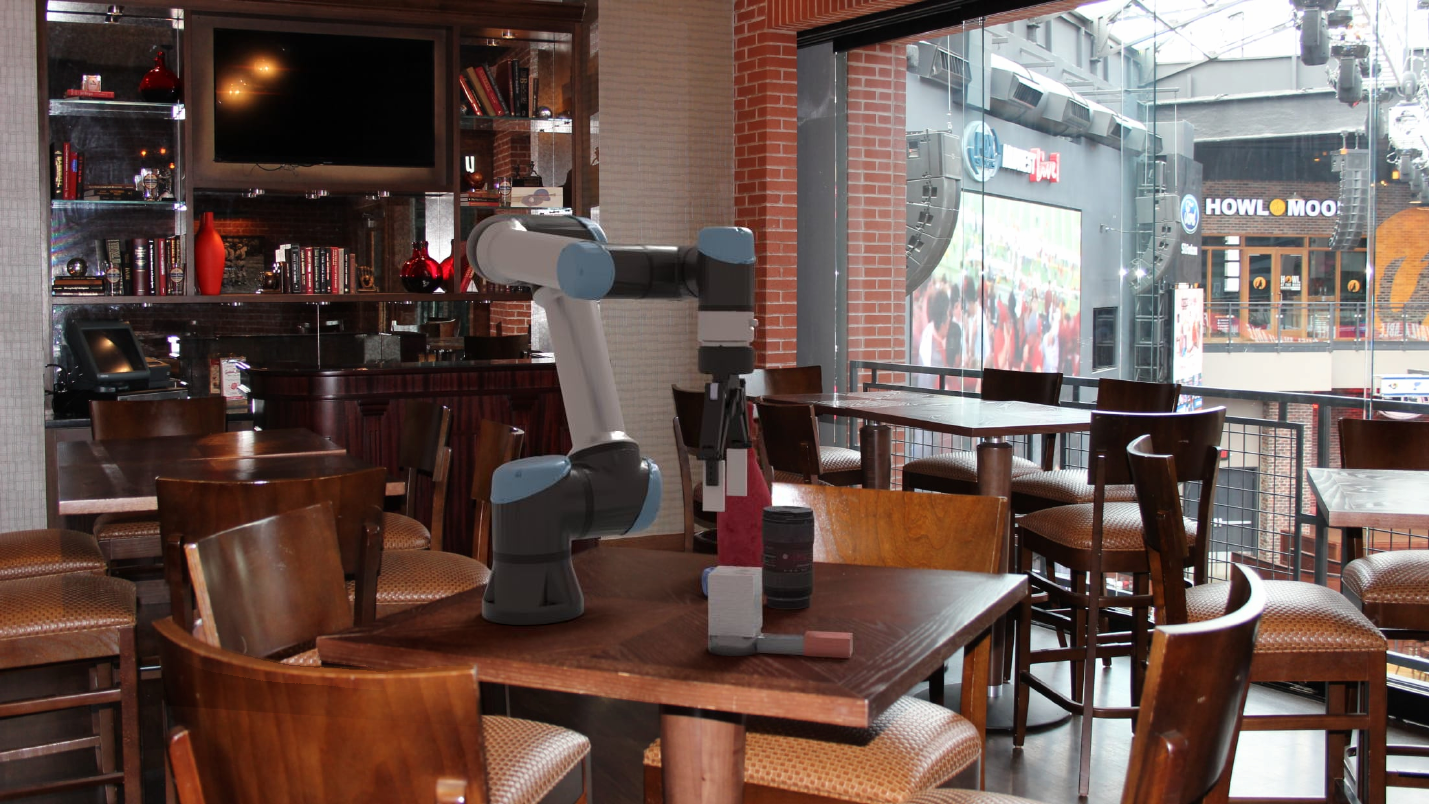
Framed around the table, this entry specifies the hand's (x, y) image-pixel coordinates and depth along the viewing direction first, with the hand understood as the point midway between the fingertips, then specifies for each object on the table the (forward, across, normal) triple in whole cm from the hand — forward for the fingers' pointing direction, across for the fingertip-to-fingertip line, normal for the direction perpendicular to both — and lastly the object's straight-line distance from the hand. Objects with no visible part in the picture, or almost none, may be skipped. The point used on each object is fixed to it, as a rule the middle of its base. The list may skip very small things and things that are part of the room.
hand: (725, 503), depth 165 cm
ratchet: (+19, -2, -8) cm, 21 cm away
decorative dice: (+20, +30, +8) cm, 37 cm away
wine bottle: (+20, +48, +8) cm, 53 cm away
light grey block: (+17, -3, -2) cm, 17 cm away
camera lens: (+20, +25, -4) cm, 32 cm away
